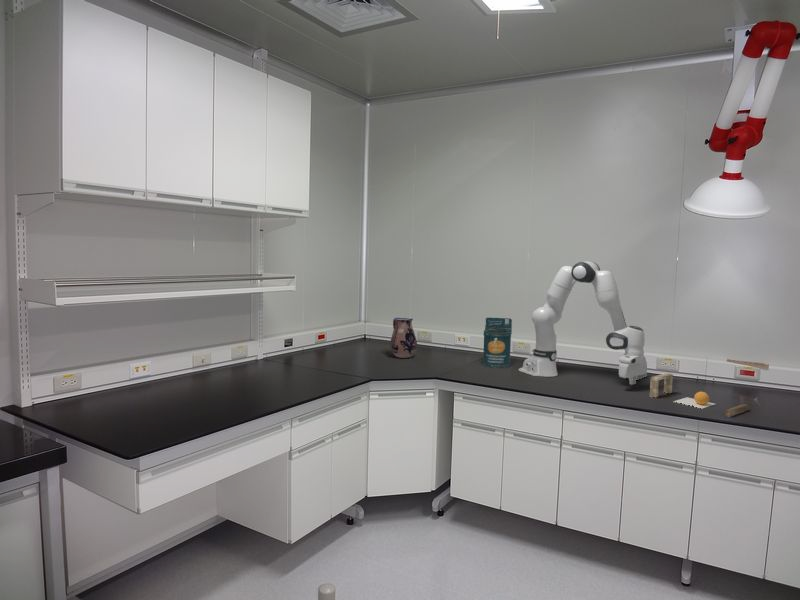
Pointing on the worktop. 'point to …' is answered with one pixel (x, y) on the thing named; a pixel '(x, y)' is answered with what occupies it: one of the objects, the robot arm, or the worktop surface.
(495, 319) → the teal food package
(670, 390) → the bridge
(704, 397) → the ball
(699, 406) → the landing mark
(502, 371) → the worktop surface
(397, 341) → the ceramic pitcher
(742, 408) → the stopper
